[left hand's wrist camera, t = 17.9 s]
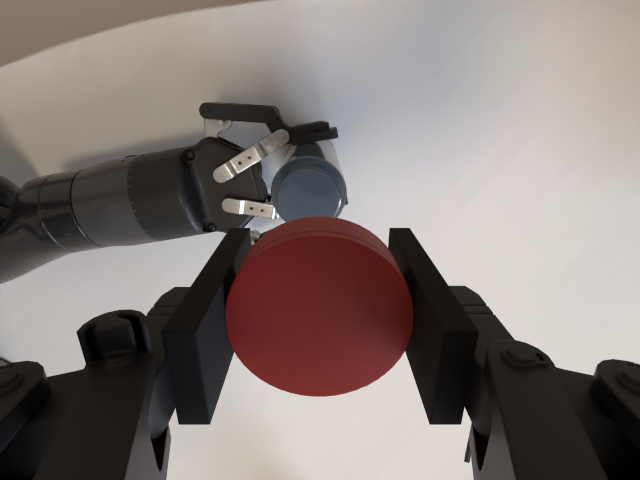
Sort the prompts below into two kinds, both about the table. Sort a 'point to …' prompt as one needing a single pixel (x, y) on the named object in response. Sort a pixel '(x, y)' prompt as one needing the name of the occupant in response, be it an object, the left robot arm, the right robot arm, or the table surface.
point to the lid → (319, 308)
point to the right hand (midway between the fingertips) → (341, 165)
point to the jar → (309, 183)
